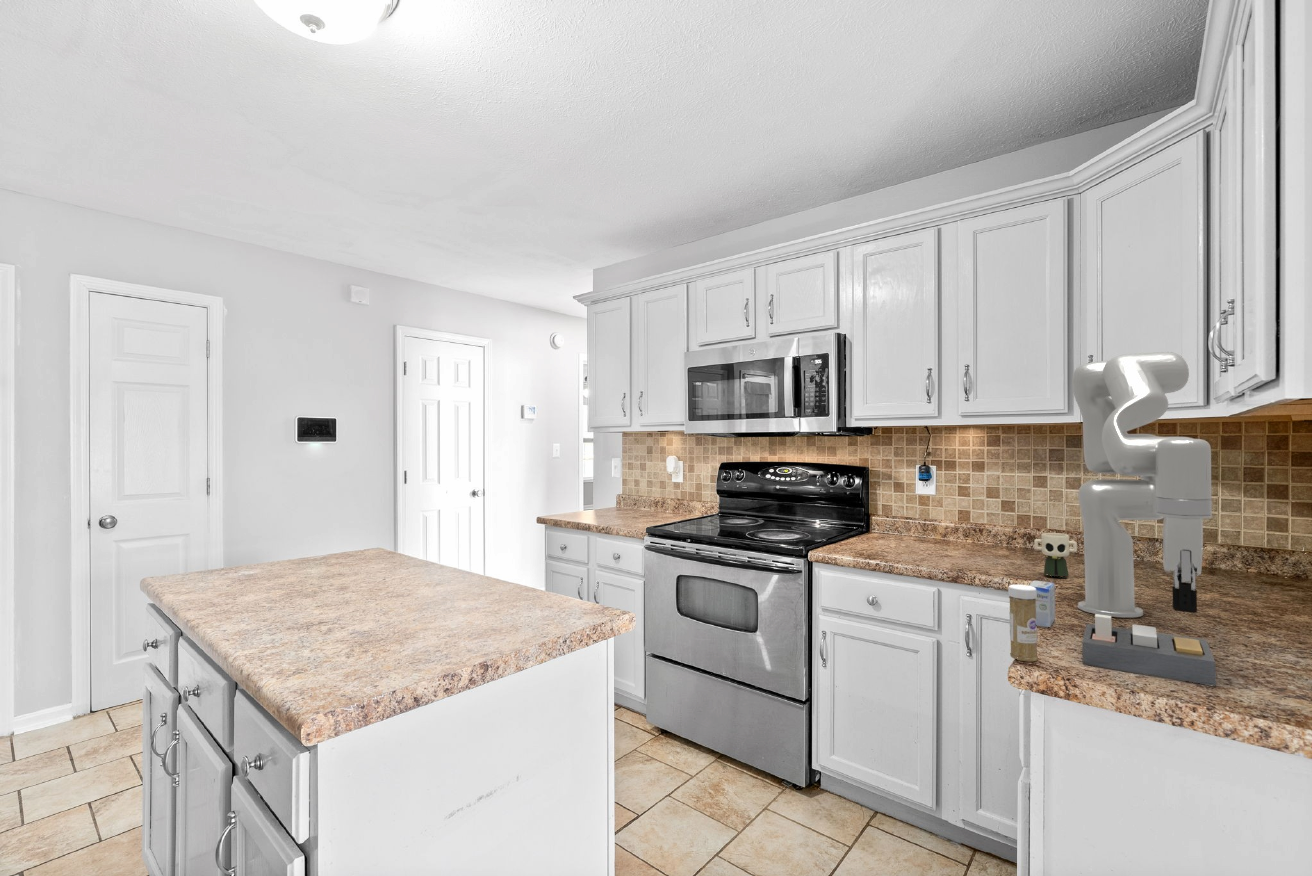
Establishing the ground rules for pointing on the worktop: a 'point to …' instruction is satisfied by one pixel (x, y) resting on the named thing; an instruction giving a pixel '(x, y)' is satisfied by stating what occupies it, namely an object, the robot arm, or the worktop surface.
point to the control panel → (1149, 657)
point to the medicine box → (1044, 603)
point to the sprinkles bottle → (1023, 622)
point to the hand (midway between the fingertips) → (1184, 610)
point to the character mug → (1055, 552)
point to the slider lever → (1103, 628)
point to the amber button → (1187, 645)
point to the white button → (1144, 636)
